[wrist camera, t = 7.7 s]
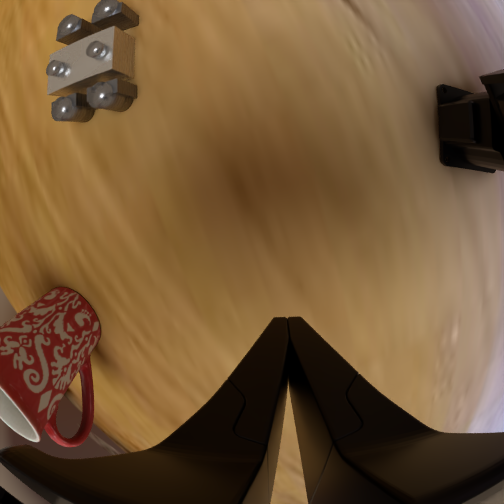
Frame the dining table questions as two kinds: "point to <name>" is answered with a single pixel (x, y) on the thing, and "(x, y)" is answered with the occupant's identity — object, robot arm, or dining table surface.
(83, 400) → the mug
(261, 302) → the dining table surface
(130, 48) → the block with round pegs
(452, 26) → the dining table surface
